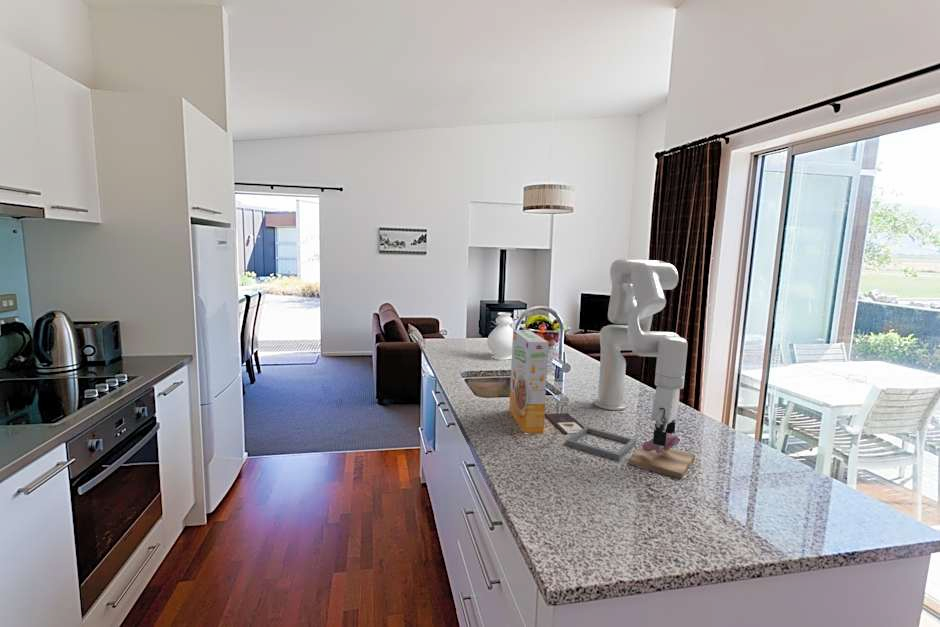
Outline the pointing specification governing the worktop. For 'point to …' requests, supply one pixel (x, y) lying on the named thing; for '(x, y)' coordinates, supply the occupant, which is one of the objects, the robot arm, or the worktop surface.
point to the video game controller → (650, 446)
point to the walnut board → (663, 461)
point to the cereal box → (528, 380)
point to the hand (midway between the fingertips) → (663, 439)
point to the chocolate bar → (565, 423)
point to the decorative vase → (501, 337)
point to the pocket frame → (596, 450)
